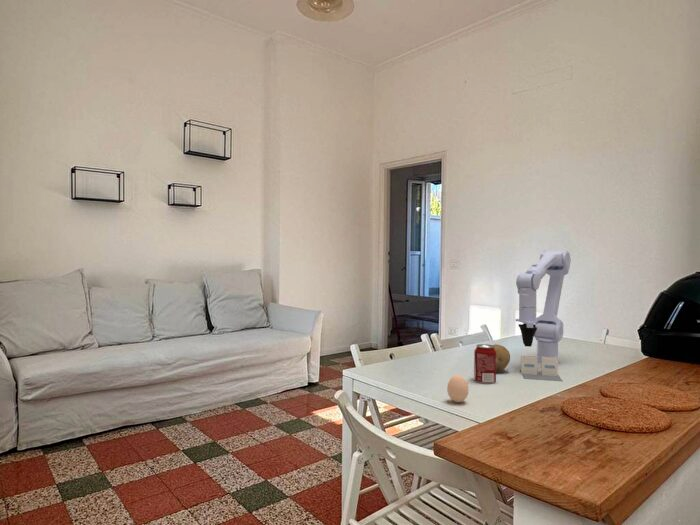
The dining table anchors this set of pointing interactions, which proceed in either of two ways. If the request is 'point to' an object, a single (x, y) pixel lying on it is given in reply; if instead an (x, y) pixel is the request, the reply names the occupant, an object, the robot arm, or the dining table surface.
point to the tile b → (549, 366)
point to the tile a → (529, 365)
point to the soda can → (485, 364)
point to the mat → (541, 377)
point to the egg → (457, 388)
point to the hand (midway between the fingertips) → (527, 345)
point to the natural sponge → (501, 357)
